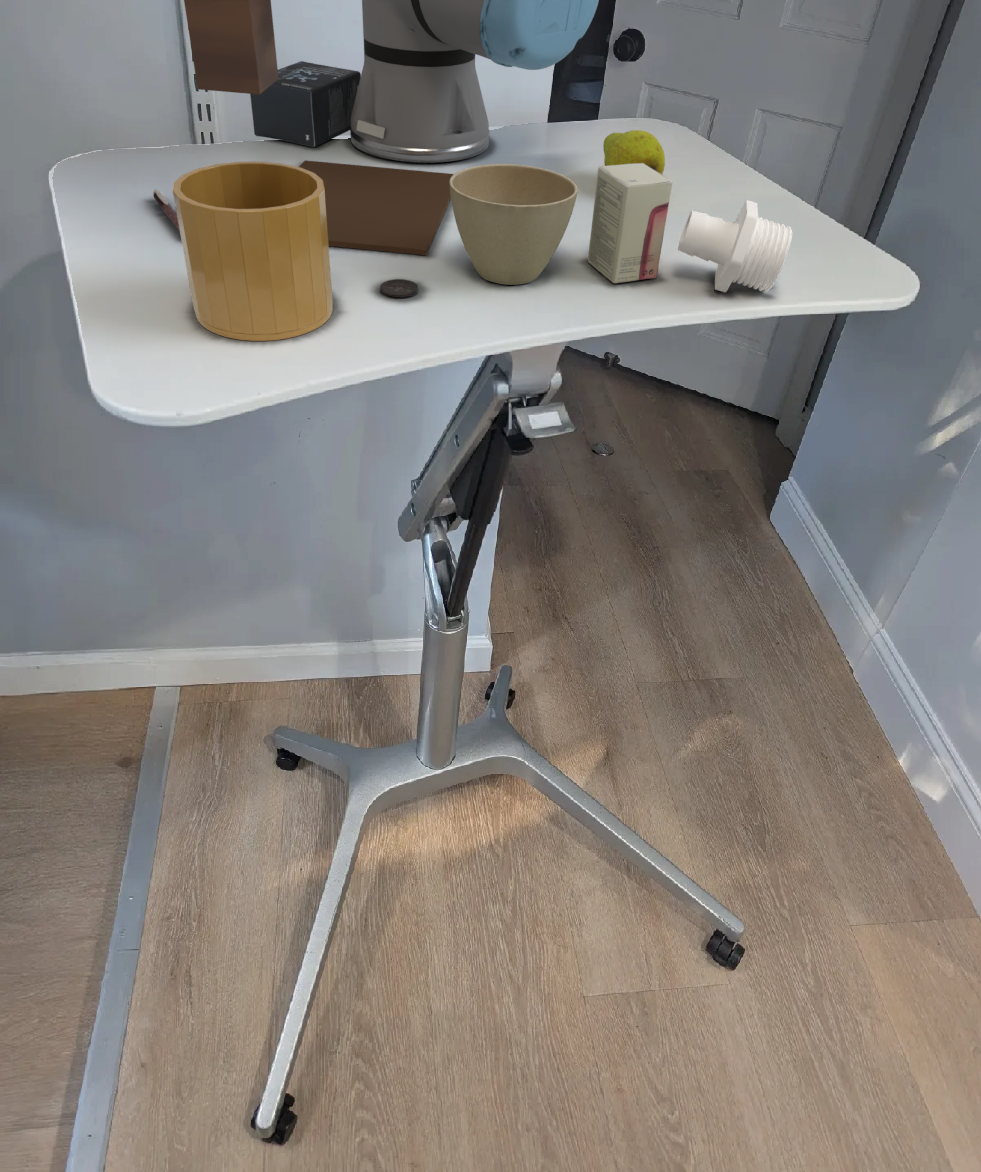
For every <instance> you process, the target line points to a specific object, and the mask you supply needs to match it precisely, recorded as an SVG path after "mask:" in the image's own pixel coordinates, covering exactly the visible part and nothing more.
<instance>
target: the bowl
mask: <svg viewBox="0 0 981 1172" xmlns="http://www.w3.org/2000/svg"><path fill="white" fill-rule="evenodd" d="M453 174H454V175H453V176H452V177H451V178H450V193H451V200H450V202H451V207H452V211H453V215H454V220H455V225H456V228H457V230H458V233H459V237H460V240H461V242H462V245H463V246H464V249H465V251H466V253H467V255H468V258H469V259H470V262H471V264H472V265H473V267H474V269H475V270H476V272H477V273H478V275H479V276H480V277H481V278H482V279H484V280H486V281H489V282H491V283H495V284H499V285H506V286H507V285H509V286H511V285H512V286H514V285H515V286H516V285H524V284H529V283H531V282H533V281H535V280H537V278H538V277H539V276H540V275H541V273H542V272H543V271H544V269H545V268H546V267H547V265H548V264H549V262H550V261H551V259H552V258H553V257H554V254H555V253H556V251H557V250H558V247H559V245H560V243H561V241H562V240H563V238H564V235H565V233H566V231H567V228H568V226H569V223H570V220H571V217H572V214H573V212H574V208H575V205H576V200H577V196H578V192H579V189H578V185H577V184H576V182H575V181H574V180H572V179H571V178H569V177H568V176H566V175H563V174H561V173H558V172H556V171H553V170H550V169H546V168H542V167H538V166H533V165H524V164H516V163H515V164H514V163H487V164H480V165H474V166H470V167H467V168H463V169H461V170H458V171H457V172H455V173H453Z"/></svg>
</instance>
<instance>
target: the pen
mask: <svg viewBox="0 0 981 1172" xmlns="http://www.w3.org/2000/svg"><path fill="white" fill-rule="evenodd" d="M152 196H153V198H154V200H155V202H156V203H157V204H158V206H159V207H160V208H161V210H162V212H163V213H164V214H166V216H167V218H168V219H169V220H170V221H171V222H172V224H173V225H174V226H175V227H176V229H177V230H178V231H179V232H180V229H179V224H178V218H177V212H176V210H174V209H173V207H172V206H171V204H170V203H169V202H168V200H167V199H166V197H165V195H164V194H163V193H162V192H161V191H160V190H158V189H154V191H153V193H152Z"/></svg>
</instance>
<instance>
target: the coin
mask: <svg viewBox="0 0 981 1172" xmlns="http://www.w3.org/2000/svg"><path fill="white" fill-rule="evenodd" d="M379 291H380V292H381V293H382V294H383V295H386V296H388V297H392V298H406V297H411V296H413V295H415V294H416V293H418V291H419V286H418V284H417V283H416V282H415V281H412V280H409V279H404V278H403V279H402V278H395V279H389V280H385V281H384V282H382V283H381V284H380V286H379Z"/></svg>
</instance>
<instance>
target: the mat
mask: <svg viewBox="0 0 981 1172" xmlns="http://www.w3.org/2000/svg"><path fill="white" fill-rule="evenodd" d="M298 167H300V168H303V169H306V170H308V171H311V172H313V173H315V174H316V175H317V176H319V177H320V178H321V179H322V180H323V183H324V188H325V202H326V216H327V231H328V245H329V247H334V248H335V247H337V248H346V249H347V248H348V249H357V250H368V251H379V252H386V253H387V252H388V253H389V252H390V253H397V254H398V253H399V254H408V255H409V254H410V255H419V256H427V255H428V252H429V250H430V248H431V245H432V243H433V242H434V241H433V240H434V238H435V236H436V235H437V232H438V229H439V227H440V225H441V222H442V220H443V218H444V215H445V213H446V211H447V209H448V206H449V204H450V202H451V193H450V178H451V177H452V176H453V175H454V174H455V173H447V172H435V171H425V170H416V169H415V170H414V169H403V168H394V167H391V168H390V167H383V166H382V167H381V166H372V165H360V164H349V163H339V162H328V161H316V160H304V161H303V162H302V163H301V164H300V165H299V166H298Z"/></svg>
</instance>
